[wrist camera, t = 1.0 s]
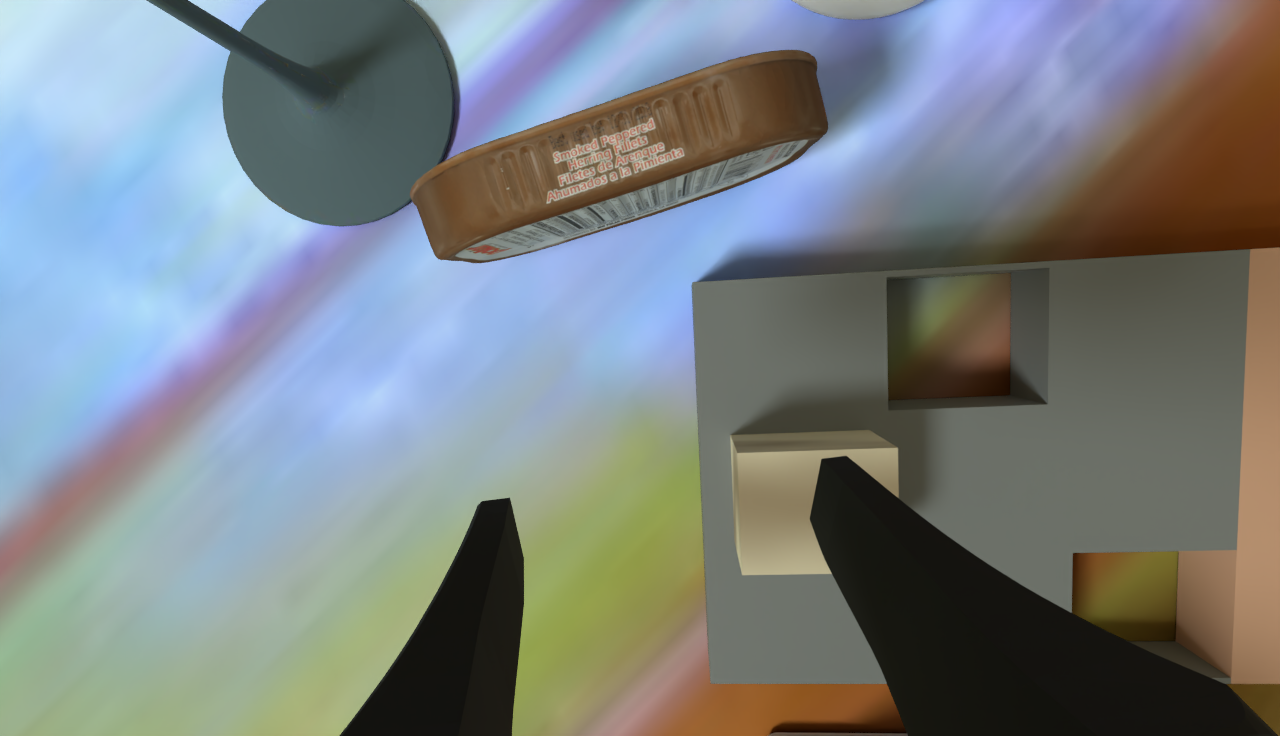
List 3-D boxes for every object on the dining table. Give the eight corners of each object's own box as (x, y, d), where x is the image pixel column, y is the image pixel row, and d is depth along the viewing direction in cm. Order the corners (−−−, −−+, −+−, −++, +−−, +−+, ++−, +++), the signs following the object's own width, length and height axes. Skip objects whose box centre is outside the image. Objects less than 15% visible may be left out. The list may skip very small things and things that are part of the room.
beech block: (871, 538, 23) (899, 572, 20) (734, 541, 23) (742, 574, 20) (869, 429, 22) (897, 447, 19) (730, 434, 23) (737, 452, 20)
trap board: (1337, 645, 24) (1467, 711, 20) (708, 648, 26) (712, 708, 22) (1362, 246, 22) (1508, 231, 18) (691, 285, 25) (693, 279, 21)
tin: (788, 107, 24) (845, -7, 15) (807, 179, 24) (874, 106, 16) (463, 215, 25) (354, 166, 17) (484, 282, 25) (387, 266, 17)
